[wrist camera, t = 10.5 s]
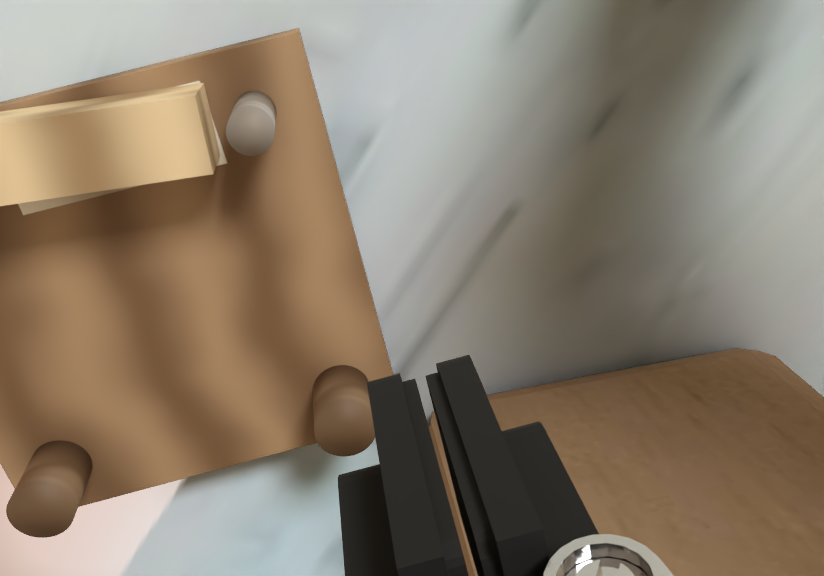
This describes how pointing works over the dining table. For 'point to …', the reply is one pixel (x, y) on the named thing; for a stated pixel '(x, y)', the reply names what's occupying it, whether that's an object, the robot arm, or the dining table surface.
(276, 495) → the dining table surface
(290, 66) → the board
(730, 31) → the dining table surface
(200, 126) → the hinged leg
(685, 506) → the wooden block
